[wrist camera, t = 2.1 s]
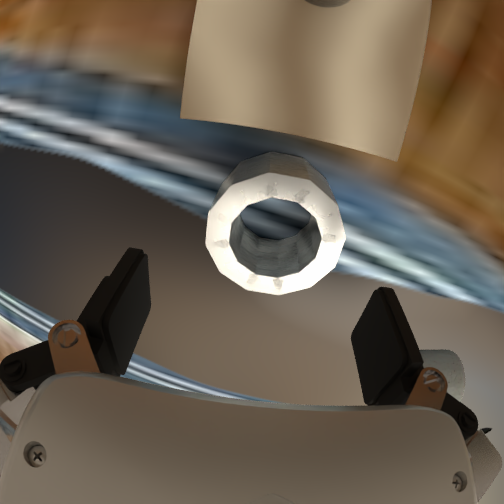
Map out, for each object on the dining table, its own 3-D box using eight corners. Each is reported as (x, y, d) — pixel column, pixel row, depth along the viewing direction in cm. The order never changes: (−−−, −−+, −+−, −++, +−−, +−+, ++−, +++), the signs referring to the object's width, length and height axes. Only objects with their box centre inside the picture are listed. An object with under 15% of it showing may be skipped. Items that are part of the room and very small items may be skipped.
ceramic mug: (386, 333, 24) (405, 406, 18) (452, 334, 24) (476, 396, 18) (348, 391, 30) (354, 450, 24) (407, 389, 30) (418, 442, 24)
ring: (344, 167, 17) (361, 192, 13) (314, 262, 20) (321, 301, 17) (226, 143, 16) (213, 163, 13) (214, 245, 20) (202, 282, 17)
